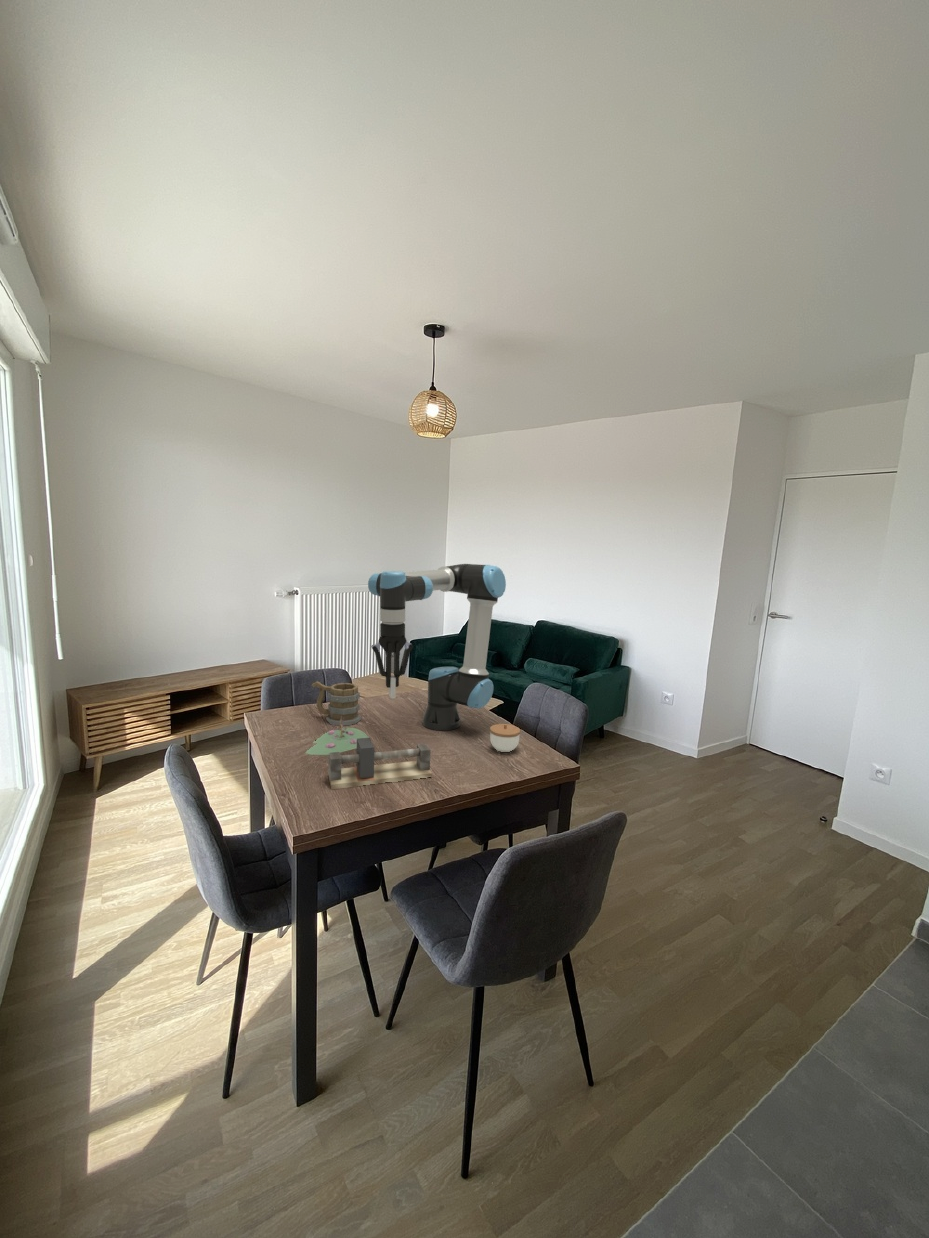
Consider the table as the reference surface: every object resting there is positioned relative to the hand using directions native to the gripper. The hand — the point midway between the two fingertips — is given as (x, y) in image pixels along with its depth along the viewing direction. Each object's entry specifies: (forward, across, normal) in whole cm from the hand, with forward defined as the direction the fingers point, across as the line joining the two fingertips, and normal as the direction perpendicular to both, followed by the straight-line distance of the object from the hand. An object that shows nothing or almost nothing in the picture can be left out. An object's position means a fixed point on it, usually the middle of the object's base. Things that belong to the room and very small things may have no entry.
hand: (392, 696), depth 158 cm
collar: (+21, +9, +5) cm, 24 cm away
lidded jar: (+25, -42, -4) cm, 48 cm away
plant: (+24, +14, -25) cm, 38 cm away
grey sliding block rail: (+23, +5, +5) cm, 24 cm away
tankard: (+24, +12, -50) cm, 57 cm away
